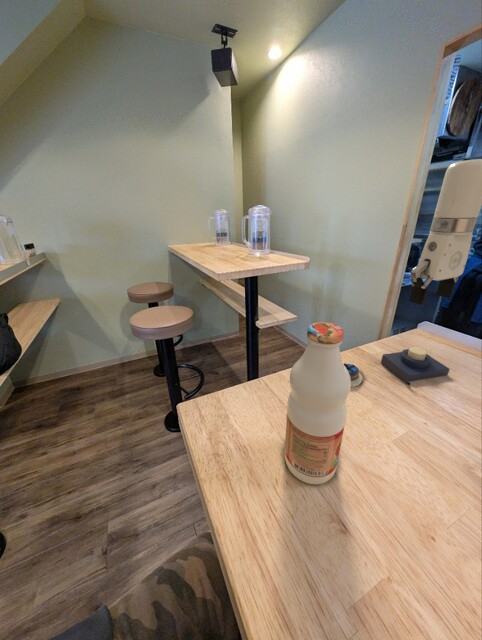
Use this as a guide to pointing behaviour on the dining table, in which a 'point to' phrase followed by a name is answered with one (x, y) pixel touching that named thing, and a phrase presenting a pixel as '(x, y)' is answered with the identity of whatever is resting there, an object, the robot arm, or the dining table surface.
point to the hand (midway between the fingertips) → (429, 299)
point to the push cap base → (413, 367)
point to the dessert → (353, 374)
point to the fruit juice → (317, 406)
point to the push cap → (417, 353)
